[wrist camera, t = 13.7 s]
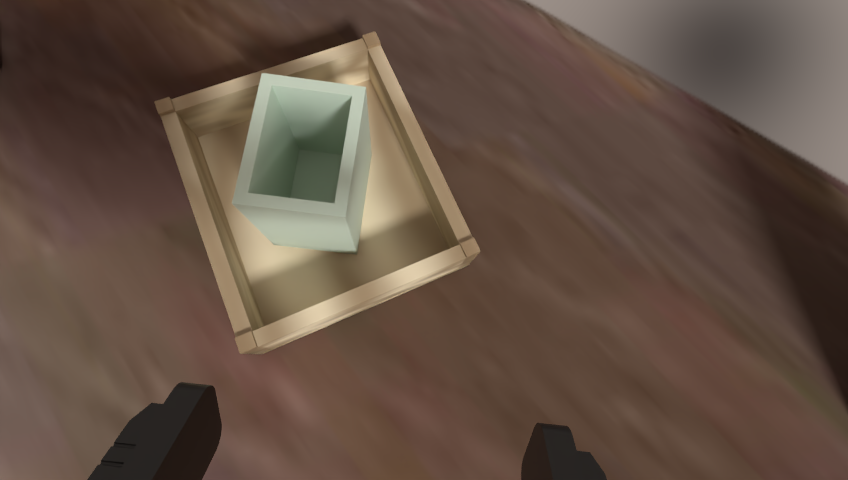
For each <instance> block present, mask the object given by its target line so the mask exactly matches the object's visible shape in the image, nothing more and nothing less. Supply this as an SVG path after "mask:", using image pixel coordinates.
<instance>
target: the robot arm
mask: <svg viewBox="0 0 848 480" xmlns="http://www.w3.org/2000/svg"><path fill="white" fill-rule="evenodd" d="M221 429H222V425H221V419H220V413H219V408H218V403H217V397H216V392H215V388H214V387H213V386H211V385H202V384H193V383H184V382H181V383H179V384H178V385H176V387H175V388H174V389H173V390H172V392H171V393H170V395H169V396H168V398H167V399H166V401H165V402H164V404H157V403H151V404H150V405H149V406H147V407H146V408H145V409H144V410H142V411H141V412H140V413H139V414H137V415H136V416H135V417H134V418H132V419H131V420H130V421H129V422H128V424H127V425H126V426H125V428H124V429H123V431H122V432H121V433H120V435H119V436H118V438H117V439H116V440H115V442H114V446H113V447H110V449H109V450H108V452H107V453H106V454H105V456H104V457H103V459H102V460H101V464H100V465H98V466H97V467H96V468H95V470H94V471H93V473H92V474H91V475H90V477H89V478H88V480H202V478H203V476H204V474H205V472H206V470H207V468H208V466H209V464H210V462H211V460H212V458H213V456H214V454H215V452H216V449H217V447H218V444H219V440H220V436H221ZM521 480H607V479H606V476H605V473H604V472H603V471H602V469H601V468H600V466H599V465H598V463H597V462H596V460H595V459H594V458H593V456H592V455H591V453H590V452H582V451H577V450H576V447H575V443H574V439H573V436H572V433H571V430H570V429H569V427H567V426H561V425H552V424H543V423H537V424H536V425H535V427H534V430H533V433H532V436H531V438H530V441H529V444H528V446H527V449H526V452H525V455H524V458H523V461H522V470H521Z"/></svg>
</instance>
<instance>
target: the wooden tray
mask: <svg viewBox="0 0 848 480" xmlns="http://www.w3.org/2000/svg"><path fill="white" fill-rule="evenodd" d="M362 37H363V38H362V39H359V40H356V41H352V42H349V43H346V44H343V45H340V46H337V47H334V48H330V49H327V50H324V51H321V52H318V53H315V54H312V55H309V56H305V57H302V58H299V59H296V60H293V61H290V62H287V63H283V64H280V65H277V66H274V67H271V68H268V69H265V70H261V71H258V72H255V73H252V74H249V75H246V76H243V77H239V78H236V79H233V80H230V81H227V82H224V83H221V84H218V85H214V86H211V87H208V88H205V89H202V90H199V91H196V92H192V93H189V94H186V95H183V96H180V97H177V98H174V99H171V98H170V97H167V98H164V99H161V100H157V101H154V103H155V106H156V109H157V111H158V114H159V115H160V116H161V119H162V122H163V125H164V128H165V131H166V134H167V137H168V140H169V142H170V145H171V148H172V151H173V154H174V157H175V160H176V163H177V166H178V169H179V172H180V175H181V178H182V181H183V184H184V186H185V189H186V192H187V195H188V198H189V201H190V204H191V207H192V210H193V213H194V216H195V219H196V222H197V225H198V227H199V230H200V233H201V236H202V239H203V242H204V245H205V248H206V251H207V254H208V257H209V260H210V263H211V266H212V269H213V271H214V274H215V277H216V280H217V283H218V286H219V289H220V292H221V295H222V298H223V301H224V304H225V307H226V310H227V312H228V315H229V318H230V321H231V324H232V327H233V330H234V333H235V336H236V337H235V341H236V344H237V346H238V349H239V352H240V354H264V353H266V352H269V351H271V350H273V349H276V348H278V347H280V346H283V345H285V344H287V343H290V342H292V341H294V340H296V339H299V338H301V337H303V336H306V335H308V334H310V333H313V332H315V331H317V330H320V329H322V328H324V327H327V326H329V325H331V324H334V323H336V322H338V321H341V320H343V319H345V318H348V317H350V316H352V315H355V314H357V313H359V312H362V311H364V310H366V309H369V308H371V307H373V306H376V305H378V304H380V303H383V302H385V301H387V300H390V299H392V298H394V297H396V296H399V295H401V294H403V293H406V292H408V291H410V290H413V289H415V288H417V287H420V286H422V285H424V284H427V283H429V282H431V281H434V280H436V279H438V278H441V277H443V276H445V275H448V274H450V273H452V272H455V271H457V270H459V269H462V268H464V267H466V266H468V265H469V264H470V263H471V262H472V261H473V259H474V258H475V257H476V256H477V255H478V254H479V252H480V249H479V247H478V245H477V243H476V241H475V239H474V238H473V237H472V235H471V233H470V231H469V229H468V227H467V225H466V223H465V221H464V218H463V216H462V214H461V212H460V210H459V208H458V206H457V204H456V202H455V200H454V198H453V196H452V193H451V191H450V189H449V187H448V185H447V183H446V181H445V179H444V177H443V175H442V173H441V171H440V168H439V166H438V164H437V162H436V160H435V158H434V156H433V154H432V152H431V150H430V148H429V145H428V143H427V141H426V139H425V137H424V135H423V133H422V131H421V129H420V127H419V125H418V123H417V120H416V118H415V116H414V114H413V112H412V110H411V108H410V106H409V104H408V102H407V100H406V97H405V95H404V93H403V91H402V89H401V87H400V85H399V83H398V81H397V79H396V77H395V75H394V72H393V70H392V68H391V66H390V64H389V62H388V60H387V58H386V56H385V54H384V52H383V49H382V47H381V45H380V41H379V39H378V36H377V34H376V32H372V33H368V34H365V35H362ZM262 73H267V74H274V75H282V76H289V77H296V78H304V79H311V80H319V81H326V82H333V83H341V84H348V85H355V86H363V87H366V93H367V105H368V117H369V128H370V140H371V152H372V156H371V163H370V170H369V177H368V183H367V190H366V197H365V204H364V211H363V217H362V224H361V231H360V238H359V245H358V251H357V255H355V254H347V253H338V252H330V251H321V250H313V249H304V248H296V247H287V246H279V245H274V244H273V243H272V242H271V241H270V240H269V239H267V238H266V237H265V236H264V235H263V234H262V233H261V232H260V231H259V230H258V229H257V228H256V227H255V226H254V225H253V224H252V223H251V222H250V221H249V220H248V219H247V218H246V217H245V216H244V215H243V214H242V213H241V212H240V211H239V210H238V209H237V208H236V207H235V206H234V205H233V204H232V200H233V196H234V192H235V187H236V183H237V179H238V174H239V170H240V166H241V161H242V157H243V153H244V148H245V144H246V139H247V135H248V131H249V126H250V122H251V118H252V113H253V109H254V105H255V100H256V96H257V92H258V87H259V83H260V79H261V74H262Z"/></svg>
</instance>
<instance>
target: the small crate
mask: <svg viewBox="0 0 848 480" xmlns="http://www.w3.org/2000/svg"><path fill="white" fill-rule="evenodd" d="M371 156H372V152H371V140H370V128H369V117H368V105H367V93H366V87H363V86H355V85H348V84H341V83H333V82H326V81H319V80H311V79H304V78H296V77H289V76H282V75H274V74H267V73H262V74H261V79H260V83H259V87H258V92H257V96H256V100H255V105H254V109H253V113H252V118H251V122H250V126H249V131H248V135H247V139H246V144H245V148H244V153H243V157H242V161H241V166H240V170H239V174H238V179H237V183H236V187H235V192H234V196H233V200H232V204H233V205H234V206H235V207H236V208H237V209H238V210H239V211H240V212H241V213H242V214H243V215H244V216H245V217H246V218H247V219H248V220H249V221H250V222H251V223H252V224H253V225H254V226H255V227H256V228H257V229H258V230H259V231H260V232H261V233H262V234H263V235H264V236H265V237H266V238H267V239H269V240H270V241H271V242H272V243H273V244H274V245H279V246H287V247H296V248H304V249H313V250H321V251H330V252H338V253H347V254H355V255H357V251H358V245H359V238H360V231H361V224H362V217H363V211H364V204H365V197H366V190H367V183H368V177H369V170H370V163H371Z"/></svg>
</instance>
